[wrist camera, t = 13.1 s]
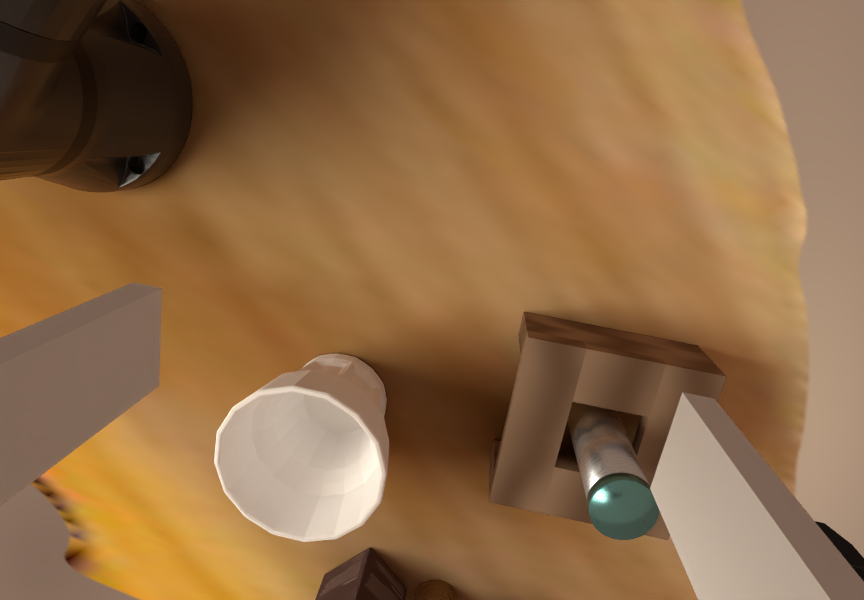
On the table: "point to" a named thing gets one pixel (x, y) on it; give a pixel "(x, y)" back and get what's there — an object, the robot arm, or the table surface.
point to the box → (361, 580)
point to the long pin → (611, 473)
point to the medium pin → (435, 591)
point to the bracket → (592, 385)
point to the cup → (308, 450)
